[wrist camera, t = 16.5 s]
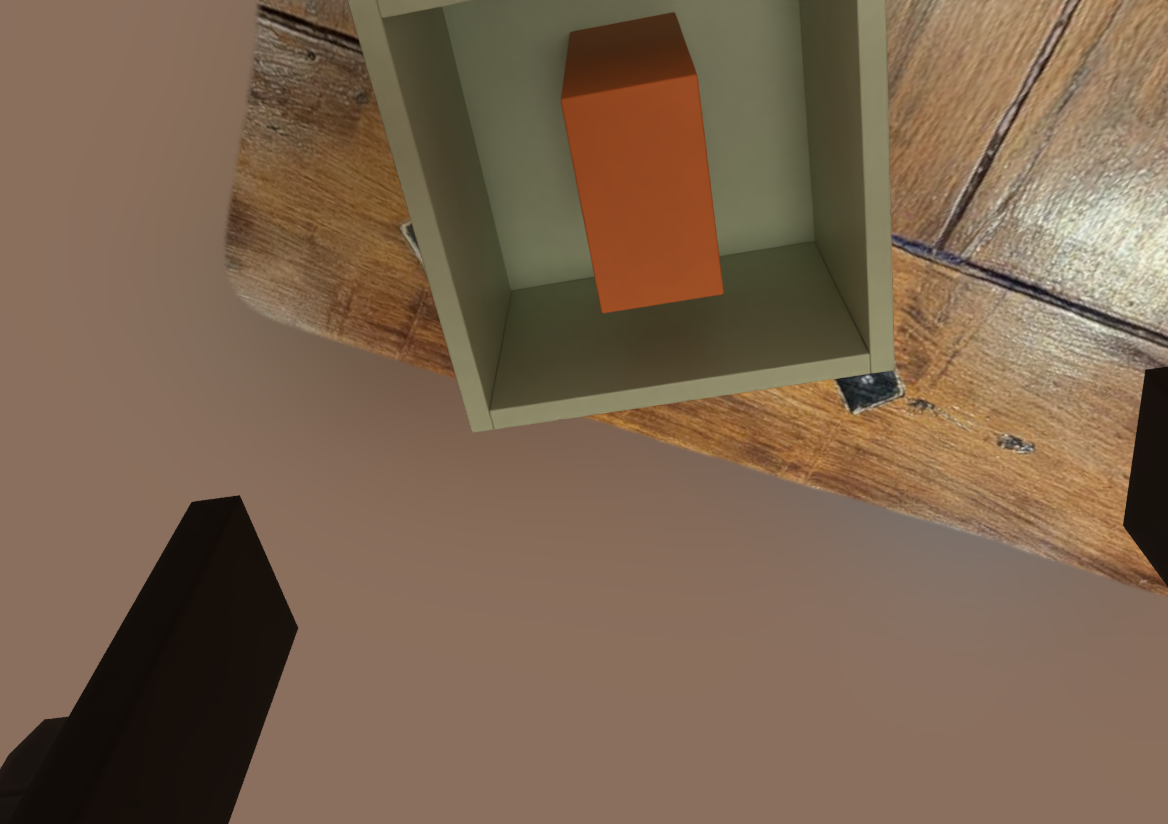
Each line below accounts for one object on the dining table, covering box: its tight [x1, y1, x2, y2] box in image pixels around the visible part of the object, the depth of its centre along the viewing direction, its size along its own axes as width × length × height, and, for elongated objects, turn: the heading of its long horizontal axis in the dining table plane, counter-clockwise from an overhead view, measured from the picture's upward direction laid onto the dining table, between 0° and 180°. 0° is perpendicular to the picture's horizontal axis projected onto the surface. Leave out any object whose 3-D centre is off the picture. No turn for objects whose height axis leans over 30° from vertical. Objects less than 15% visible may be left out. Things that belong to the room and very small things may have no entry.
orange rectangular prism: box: [561, 12, 724, 313], centre depth 34 cm, size 4×7×10 cm, turn 10°
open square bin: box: [348, 0, 895, 432], centre depth 35 cm, size 15×15×11 cm
